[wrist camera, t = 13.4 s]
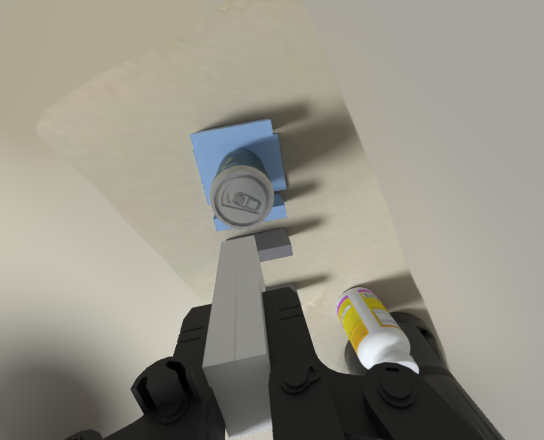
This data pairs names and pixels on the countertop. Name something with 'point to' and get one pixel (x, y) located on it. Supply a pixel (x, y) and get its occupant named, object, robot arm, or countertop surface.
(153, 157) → the countertop surface
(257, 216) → the beer can
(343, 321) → the supplement bottle
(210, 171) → the blue bezel pad
